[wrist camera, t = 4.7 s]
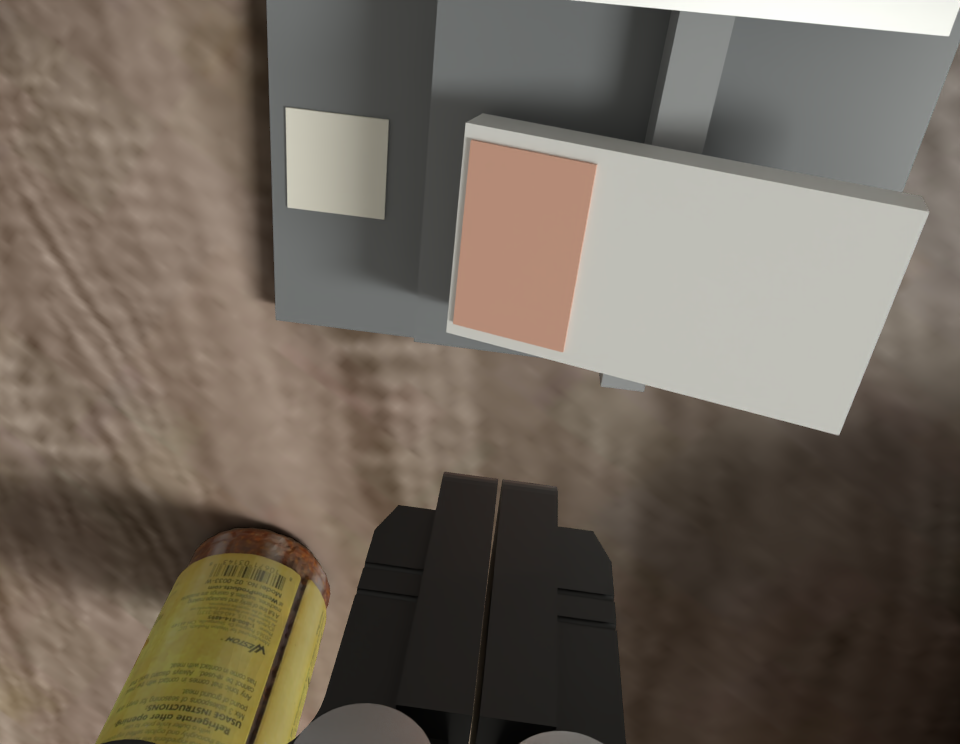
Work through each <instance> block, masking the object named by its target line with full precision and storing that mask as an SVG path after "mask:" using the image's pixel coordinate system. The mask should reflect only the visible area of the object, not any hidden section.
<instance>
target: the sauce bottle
mask: <svg viewBox="0 0 960 744" xmlns="http://www.w3.org/2000/svg"><path fill="white" fill-rule="evenodd" d="M329 598H330V586H329V583H328V580H327V577H326V574H325V572H324V571H323V569H322V567H321V566H320V564H319V562H318V561H317V560H316V558H315V557H314V556H313V554H312V553H311V552H310V551H309V550H308V549H307V548H306V547H304V546H303V545H301V544H300V543H298V542H296V541H294V540H293V539H292V538H290V537H286V536H284V535H281V534H277V533H275V532H273V531H271V530H267V529H256V528H234V529H231V530H229V531H224V532H220V533H218V534H217V535H215V536H213V537H211V538H209V539H207V540H206V541H205V542H204V543H202V544H201V546H200V547H199V548H197V550H196V551H195V553H194V555H193V557H192V559H191V561H190V563H189V565H188V567H187V568H186V569H185V570H184V571H183V572H182V573H181V574H180V575H179V577H178V578H177V580H176V582H175V584H174V586H173V588H172V590H171V592H170V594H169V596H168V598H167V600H166V602H165V604H164V606H163V608H162V610H161V612H160V614H159V616H158V618H157V620H156V622H155V624H154V626H153V628H152V630H151V632H150V634H149V636H148V638H147V640H146V642H145V644H144V646H143V648H142V650H141V652H140V654H139V656H138V659H137V661H136V663H135V665H134V667H133V669H132V671H131V673H130V675H129V677H128V679H127V681H126V683H125V685H124V687H123V689H122V691H121V693H120V695H119V697H118V699H117V701H116V703H115V705H114V707H113V709H112V711H111V713H110V715H109V717H108V719H107V721H106V723H105V725H104V727H103V729H102V731H101V733H100V735H99V737H98V739H97V741H96V743H95V744H102V743H106V742H109V741H115V740H123V739H137V740H144V741H149V742H153V743H156V744H288V743H289V742H291V741H292V740H293V739H295V736H296V732H297V728H298V724H299V721H300V717H301V713H302V709H303V706H304V702H305V698H306V694H307V690H308V687H309V683H310V680H311V676H312V672H313V669H314V665H315V661H316V658H317V654H318V650H319V646H320V642H321V638H322V635H323V631H324V627H325V623H326V608H327V606H328V602H329Z"/></svg>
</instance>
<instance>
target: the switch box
mask: <svg viewBox="0 0 960 744" xmlns="http://www.w3.org/2000/svg"><path fill="white" fill-rule="evenodd" d="M266 3H267V37H268V71H269V105H270V140H271V174H272V208H273V242H274V276H275V311H276V320H280V321H288V322H296V323H303V324H311V325H319V326H327V327H335V328H343V329H350V330H358V331H366V332H374V333H382V334H390V335H397V336H405V337H413V338H414V342H422V343H430V344H437V345H445V346H453V347H461V348H469V349H477V350H484V351H492V352H500V353H508V354H516V355H524V356H531V357H538V356H534V355H531V354H527V353H523V352H519V351H515V350H511V349H508V348H504V347H500V346H496V345H492V344H489V343H485V342H481V341H477V340H473V339H470V338H466V337H462V336H458V335H454V334H451V333H447V332H446V329H447V318H448V308H449V297H450V286H451V275H452V264H453V254H454V243H455V232H456V221H457V211H458V200H459V189H460V178H461V167H462V157H463V146H464V135H465V124H466V122H468V121H470V120H471V119H473V118H475V117H477V116H479V115H481V114H482V113H484V114H489V115H495V116H500V117H505V118H511V119H516V120H521V121H527V122H532V123H537V124H542V125H548V126H553V127H558V128H564V129H569V130H574V131H580V132H585V133H590V134H595V135H601V136H606V137H611V138H617V139H622V140H627V141H633V142H638V143H643V144H648V145H654V146H659V147H664V148H670V149H675V150H680V151H686V152H691V153H696V154H701V155H707V156H712V157H717V158H723V159H728V160H733V161H739V162H744V163H749V164H754V165H760V166H765V167H770V168H776V169H781V170H786V171H792V172H797V173H802V174H807V175H813V176H818V177H823V178H829V179H834V180H839V181H845V182H850V183H855V184H860V185H866V186H871V187H876V188H882V189H887V190H892V191H898V192H903V189H904V187H905V184H906V181H907V179H908V176H909V174H910V171H911V168H912V166H913V163H914V160H915V158H916V155H917V153H918V150H919V147H920V145H921V142H922V139H923V137H924V134H925V132H926V129H927V126H928V124H929V121H930V118H931V116H932V113H933V111H934V108H935V105H936V103H937V100H938V98H939V95H940V92H941V90H942V87H943V84H944V82H945V79H946V77H947V74H948V71H949V69H950V66H951V63H952V61H953V58H954V56H955V53H956V50H957V48H958V45H959V42H960V8H959V11H958V13H957V16H956V19H955V21H954V24H953V27H952V29H951V32H950V35H949V36H939V35H928V34H918V33H908V32H897V31H887V30H876V29H866V28H856V27H845V26H835V25H824V24H814V23H804V22H793V21H783V20H772V19H762V18H751V17H741V16H731V15H720V14H710V13H699V12H689V11H679V10H668V9H658V8H647V7H637V6H627V5H616V4H606V3H595V2H585V1H575V0H266ZM539 358H542V357H539ZM599 376H600V385H601V386H602V387H609V388H617V389H625V390H633V391H641V392H644V389H645V384H641V383H637V382H633V381H630V380H626V379H622V378H618V377H614V376H610V375H607V374H603V373H599Z"/></svg>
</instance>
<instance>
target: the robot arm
mask: <svg viewBox="0 0 960 744" xmlns="http://www.w3.org/2000/svg"><path fill="white" fill-rule="evenodd" d="M497 485H498V479H494V478H487V477H479V476H472V475H465V474H457V473H450V472H444V474H443V479H442V483H441V488H440V493H439V498H438V503H437V508H436V510H431V509H423V508H416V507H409V506H401V505H398V506H397V507H396V508H395V509H394V511H393V512H392V513H391V514H390V515H389V516H388V517H387V518H386V519H385V520H384V521H383V522H382V523H381V524H380V525H379V526H378V527H377V528H376V529H375V531H374V534H373V537H372V541H371V544H370V547H369V551H368V554H367V558H366V561H365V567H364V568H363V571H362V574H361V578H360V581H359V584H358V588H357V594H356V595H355V598H354V601H353V605H352V608H351V611H350V615H349V618H348V621H347V625H346V628H345V631H344V635H343V638H342V641H341V645H340V648H339V651H338V655H337V658H336V662H335V665H334V668H333V672H332V675H331V678H330V682H329V685H328V688H327V692H326V695H325V698H324V700H323V703H322V705H321V708H320V709H319V711H318V713H317V714H316V716H315V718H314V719H313V720H312V722H311V723H310V724H309V725H308V726H307V727H306V728H305V729H304V730H303V731H302V732H301V733H300V734H299V735H298V736H297V737H296V738H295V739H293V740H292V741H291V742H289V743H288V744H468V742H469V736H470V729H471V737H470V744H626V739H625V728H624V715H623V703H622V690H621V677H620V665H619V652H618V640H617V631H616V614H615V602H613V599H614V589H613V576H612V564H611V561H610V559H609V557H608V556H607V554H606V552H605V551H604V549H603V547H602V546H601V544H600V542H599V541H598V539H597V537H596V536H595V534H594V532H593V531H587V530H579V529H572V528H565V527H558V491H557V487H555V486H548V485H540V484H533V483H526V482H518V481H511V480H503V481H502V487H501V493H500V500H499V507H498V513H497V520H496V527H495V534H494V541H493V548H492V554H491V561H490V568H489V559H490V550H491V541H492V531H493V522H494V513H495V504H496V494H497ZM488 568H489V575H488ZM487 577H488V583H487ZM486 587H487V591H486ZM485 596H486V599H485ZM484 605H485V608H484ZM483 614H484V617H483ZM482 624H483V626H482ZM481 633H482V635H481ZM480 642H481V644H480ZM479 651H480V654H479ZM478 661H479V663H478ZM477 670H478V672H477ZM476 679H477V682H476ZM475 688H476V691H475ZM474 698H475V700H474ZM473 707H474V709H473ZM472 716H473V719H472ZM471 723H472V728H471ZM102 744H156V743H153V742H149V741H144V740H137V739H123V740H115V741H109V742H106V743H102Z"/></svg>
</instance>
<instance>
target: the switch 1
mask: <svg viewBox="0 0 960 744" xmlns="http://www.w3.org/2000/svg"><path fill="white" fill-rule="evenodd" d="M575 1H585V2H595V3H606V4H616V5H627V6H637V7H647V8H658V9H668V10H679V11H689V12H699V13H710V14H720V15H731V16H741V17H751V18H762V19H772V20H783V21H793V22H804V23H814V24H824V25H835V26H845V27H856V28H866V29H876V30H887V31H897V32H908V33H918V34H928V35H939V36H949V35H950V32H951V29H952V27H953V24H954V21H955V19H956V16H957V13H958V11H959V8H960V0H575Z"/></svg>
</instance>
